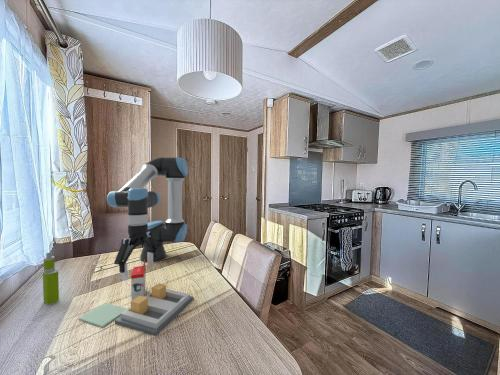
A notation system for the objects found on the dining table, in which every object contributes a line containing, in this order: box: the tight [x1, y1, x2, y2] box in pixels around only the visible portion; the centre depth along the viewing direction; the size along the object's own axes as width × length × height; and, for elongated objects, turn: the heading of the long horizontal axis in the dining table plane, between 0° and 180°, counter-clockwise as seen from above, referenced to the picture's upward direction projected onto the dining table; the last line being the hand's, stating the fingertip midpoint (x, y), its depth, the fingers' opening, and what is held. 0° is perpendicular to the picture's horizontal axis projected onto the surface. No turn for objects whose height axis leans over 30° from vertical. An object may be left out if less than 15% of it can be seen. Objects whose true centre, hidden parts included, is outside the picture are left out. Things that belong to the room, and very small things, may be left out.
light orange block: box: [130, 296, 148, 315], centre depth 78 cm, size 4×4×5 cm
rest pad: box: [78, 302, 127, 328], centre depth 79 cm, size 10×12×1 cm
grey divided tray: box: [114, 288, 195, 337], centre depth 82 cm, size 22×18×3 cm
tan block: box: [151, 283, 167, 299], centre depth 87 cm, size 4×4×5 cm
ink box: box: [130, 260, 146, 302], centre depth 91 cm, size 8×5×15 cm, turn 23°
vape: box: [42, 252, 60, 306], centre depth 86 cm, size 4×6×20 cm, turn 62°
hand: (138, 272), depth 90 cm, fingers open, 13 cm apart
